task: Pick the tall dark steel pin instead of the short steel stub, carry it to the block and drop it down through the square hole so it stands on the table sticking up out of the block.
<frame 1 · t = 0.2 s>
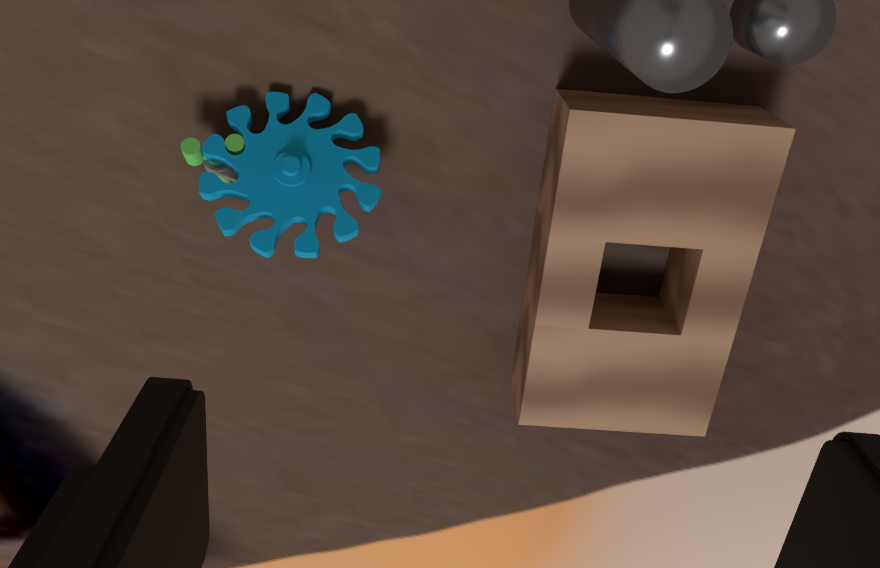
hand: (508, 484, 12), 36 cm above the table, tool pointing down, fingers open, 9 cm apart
hole block: (624, 254, 49), on the table
gear: (293, 150, 46), on the table
short pin: (765, 14, 43), on the table
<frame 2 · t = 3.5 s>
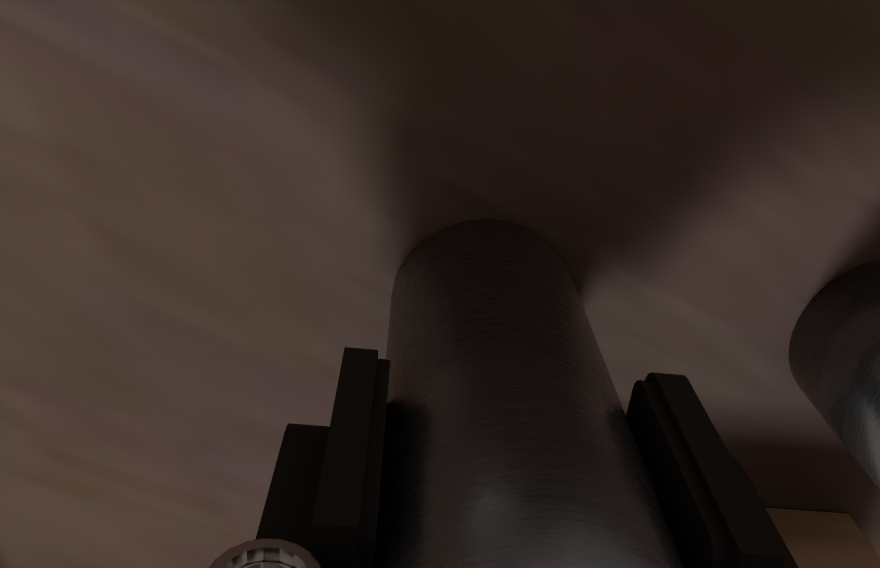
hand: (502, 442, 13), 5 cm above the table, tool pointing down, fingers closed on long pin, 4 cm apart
long pin: (483, 305, 17), on the table, touching gripper
short pin: (878, 338, 17), on the table
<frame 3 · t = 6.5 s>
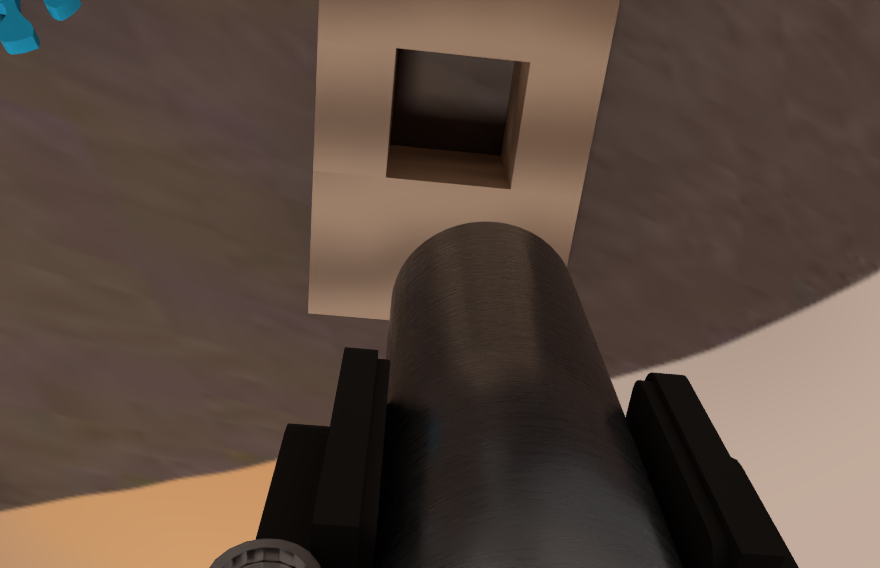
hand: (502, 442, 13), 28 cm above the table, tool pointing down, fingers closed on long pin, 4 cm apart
hole block: (452, 94, 38), on the table
long pin: (482, 307, 17), point 23 cm above the table, touching gripper
when the fingers open (7 cm above the table, at t = 9.7 s): long pin drops 2 cm, resting in hole block.
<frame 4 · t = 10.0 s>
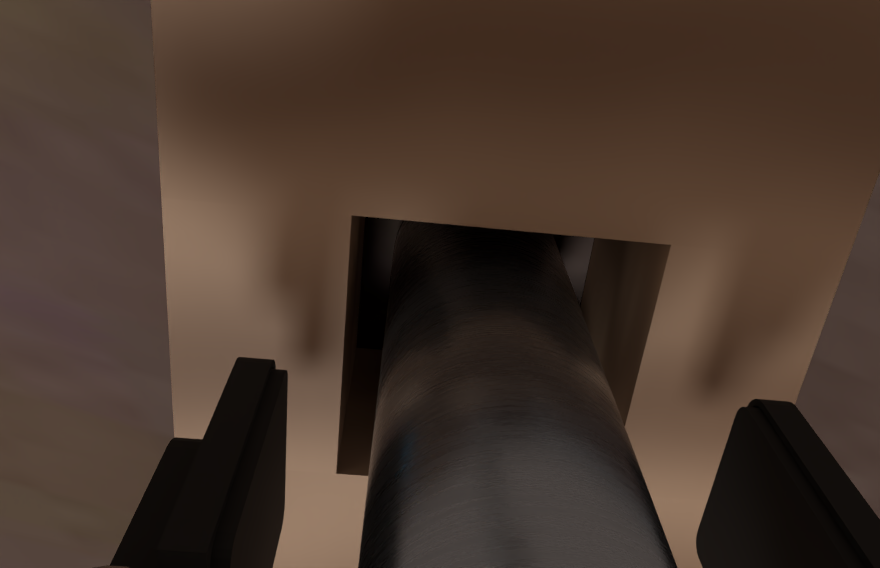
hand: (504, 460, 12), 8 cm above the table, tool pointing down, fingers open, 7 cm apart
hole block: (476, 259, 19), on the table
long pin: (474, 259, 19), resting in hole block
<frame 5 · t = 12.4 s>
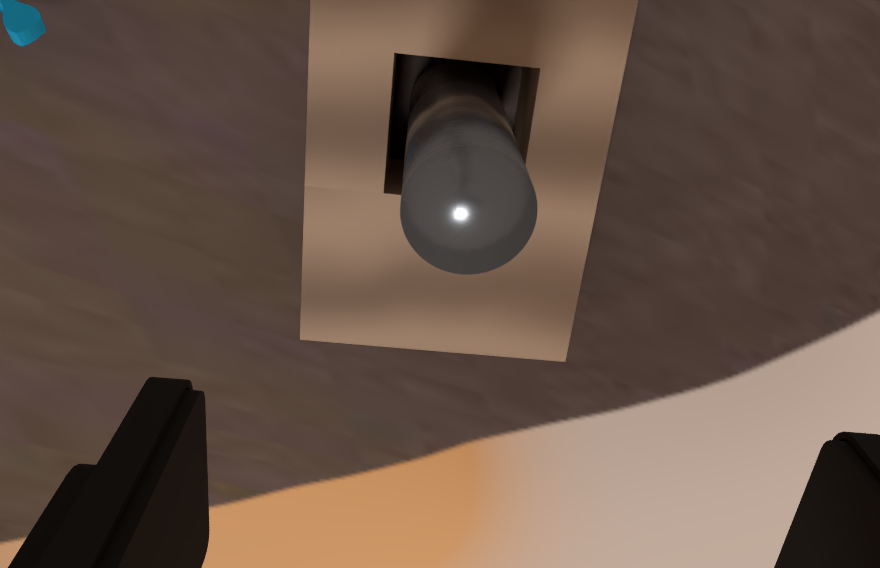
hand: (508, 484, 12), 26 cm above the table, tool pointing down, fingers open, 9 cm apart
hole block: (455, 104, 35), on the table
long pin: (454, 104, 35), resting in hole block
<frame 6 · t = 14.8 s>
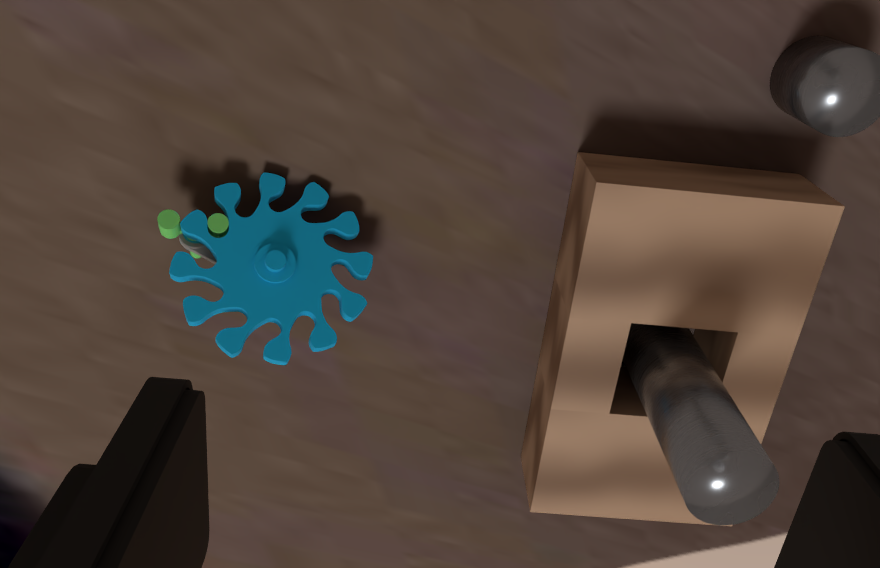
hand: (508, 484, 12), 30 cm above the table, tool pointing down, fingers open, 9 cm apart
hole block: (647, 327, 45), on the table
gear: (278, 233, 43), on the table
long pin: (646, 327, 45), resting in hole block
short pin: (809, 76, 39), on the table
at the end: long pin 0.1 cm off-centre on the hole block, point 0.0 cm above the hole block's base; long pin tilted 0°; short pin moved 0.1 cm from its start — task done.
